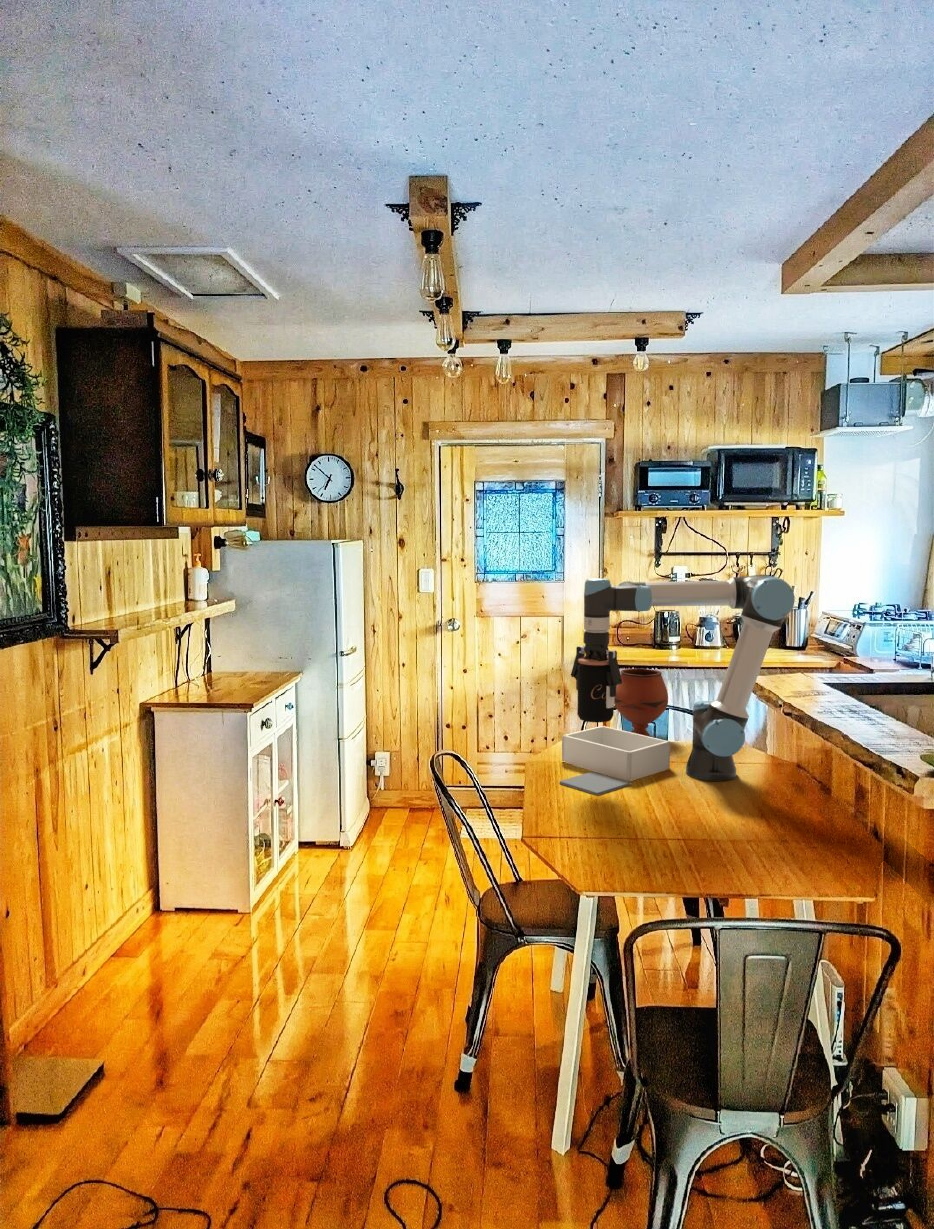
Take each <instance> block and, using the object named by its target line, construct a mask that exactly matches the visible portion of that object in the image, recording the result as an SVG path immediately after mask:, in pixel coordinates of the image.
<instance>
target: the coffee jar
mask: <svg viewBox="0 0 934 1229" xmlns="http://www.w3.org/2000/svg"><path fill="white" fill-rule="evenodd" d="M584 658H585V656H584V657H582V658H579V659H578V662H579V663H580V665H579V667H578V690H577V709H576V710H577V716H578V718H579V720H581V721H583V722H587V723H605V722H610V721H611V720H612V719H613V717H614V712H615V711H614V708H615V706H614V707H612V708H606V692H607V685H609V684H608V682H607V672H611V669H610V665H609V661H608V660H602V661H597V660H592V659H584ZM607 658H608V657H607Z"/></svg>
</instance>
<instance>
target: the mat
mask: <svg viewBox="0 0 934 1229" xmlns="http://www.w3.org/2000/svg"><path fill="white" fill-rule="evenodd" d="M631 782H632V781H626V780H622V779H619V778H615V777H612V776H608V775H605V774H601V773H598V772H594V771H589V772H586V773H583V774H580V775H576V776H573V777H569V778H565V779H562V780H559V784H560V785H562V786H565V787H569V788H572V789H575V790H578V791H581V792H585V793H587V794H592V795H595V796H600V795H604V794H607V793H610V792H613V791H616V790H620V789H623V788H626V787H630V786H631Z"/></svg>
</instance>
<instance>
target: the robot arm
mask: <svg viewBox="0 0 934 1229" xmlns="http://www.w3.org/2000/svg"><path fill="white" fill-rule="evenodd" d="M795 599H796V597H795V593H794V590H793V588H792V586H791V585H790V584H789V583H788V582H787V581H786V580H784V579H782V578H780V577H777V576H773V575H769V574H755V575H747V576H738V577H737V576H732V577H730V578H729V579H728V580H694V581H693V580H691V581H690V580H689V581H688V580H687V581H643V582H642V581H639V582H638V581H636V582H635V581H630V580H629V581H627V580H626V581H622V582H621V583H619V584H618V585H612V584H611V581H610V579H608V578H601V577H599V578H598V577H597V578H595V577H594V578H588V579H586V580H585V582H584V591H583V629H584V632H583V643H584V644H585V645H580V646H576V649H575V650H576V655H575V658H574V662H573V665H572V670H571V674H570V677H572V678H574V679H575V680H576V682H575V686H576V687H575V688H576V691H578V667H579V665H580V663H579V662H578V659H579V658H582V657H585V658H584V659H592V660H597V661H602V660H608V661H609V665H610V669H611V672H607V682H608V684H609V685H607V692H606V708H612V707H614V708H615V704H614V697H615V696H616V686H617V685H619V684H622V679H621V670H620V666H619V663H618V652H617V650H609V644H610V632H609V630H610V626H611V625H610V620H611V619H610V612H638V613H640V612H649V611H650V610H651V608H652V607H692V606H693V607H703V606H704V607H706V606H707V607H708V606H709V607H710V606H711V607H712V606H713V607H714V606H716V607H717V606H718V607H721V606H723V607H724V606H727V607H730V608H731V610H733V609H736V610H737V609H738V610H739V609H740V610H742V611H741V613H740V616H741V619H742V621H743V625H742V627H741V630H740V633H739V635H738V639H737V641H736V645H735V647H734V648H733V649H734V650H733V653H732V655H731V658H730V661H729V664H728V667H727V670H726V672H725V675H724V678H723V681H722V684H721V687H720V690H719V693H718V695H717V698H716V699H715V700H710V701H709V700H700V701H699V700H698V701H696V702H694V704H693V707H692V744H691V746H692V748H691V751H690V753H689V754H690V755H689V758H688V759H687V763H686V765H685V766H686V767H685V773H686V775H687V776H689V777H691V778H694V779H698V780H702V781H710V782H711V781H713V782H724V781H730V780H734V779H736V777H737V766H736V763H735V760H734V757H733V756H734V755H735V754H737V753H738V752H740V751H741V749H743V746H744V744H745V741H746V733H745V729H746V726H747V724H748V720H749V717H750V716H749V714H748V711H747V707H748V704H749V702H750V699H751V697H752V693H753V690H754V687H755V685H756V682H757V679H758V677H759V674H760V670H761V669H762V665H763V662H764V660H765V657H766V654H767V652H768V648H769V645H770V643H771V640H772V637H773V635H774V633H775V632H776V631H779V630H781V628H782V625H783V623H784V620H785V618H786V617H787V616H788V615H789V614H790V613H791V611H792V610H793V608H794V605H795V601H796V600H795ZM607 657H608V658H607Z"/></svg>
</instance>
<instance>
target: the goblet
mask: <svg viewBox="0 0 934 1229" xmlns="http://www.w3.org/2000/svg"><path fill="white" fill-rule="evenodd" d="M620 674H621V679H622V684H619V685H617V686H616V696H615V697H614V707H615V708H616V710H617V711H618V713H619V714H620V715H621V716H622V717H623V718H625V719H626V720H627V721H628V722H630V723H631V726H632V727H633V729H632V730H631V732H632V733H636V734H640V735H644V736H649V737H652V736H651V734H650V732H648V730H647V728H648V727H649V724H651V723H654V721H656V720H658V719H659V718H660V717H661V716H662V715H663V713H664V712H665V710H666V709H667V707H668V705H669V693H668V689H667V687H666V684H665V681H664V678H663V676H662V674H663V673H662V671H660V670H657V669H649V668H648V669H647V668H625V669H621V670H620Z"/></svg>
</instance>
